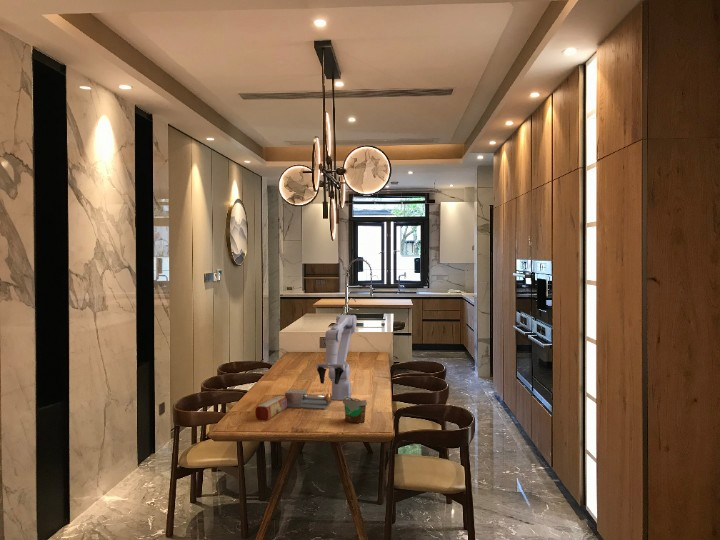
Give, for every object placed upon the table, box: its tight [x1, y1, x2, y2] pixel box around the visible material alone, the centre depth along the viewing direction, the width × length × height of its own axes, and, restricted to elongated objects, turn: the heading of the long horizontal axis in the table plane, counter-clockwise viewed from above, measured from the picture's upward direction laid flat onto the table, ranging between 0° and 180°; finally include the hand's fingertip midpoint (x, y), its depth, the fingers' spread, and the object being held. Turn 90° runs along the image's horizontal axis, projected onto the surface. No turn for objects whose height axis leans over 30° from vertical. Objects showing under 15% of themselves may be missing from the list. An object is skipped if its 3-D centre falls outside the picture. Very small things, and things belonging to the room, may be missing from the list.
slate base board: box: [286, 399, 333, 411], centre depth 266 cm, size 22×14×1 cm, turn 80°
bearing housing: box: [284, 388, 307, 405], centre depth 267 cm, size 8×8×6 cm
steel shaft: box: [303, 393, 332, 404], centre depth 265 cm, size 16×4×4 cm, turn 80°
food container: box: [342, 395, 368, 425], centre depth 239 cm, size 12×6×10 cm, turn 45°
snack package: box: [254, 395, 288, 422], centre depth 250 cm, size 21×7×7 cm, turn 164°
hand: (329, 383), depth 262 cm, fingers open, 7 cm apart
